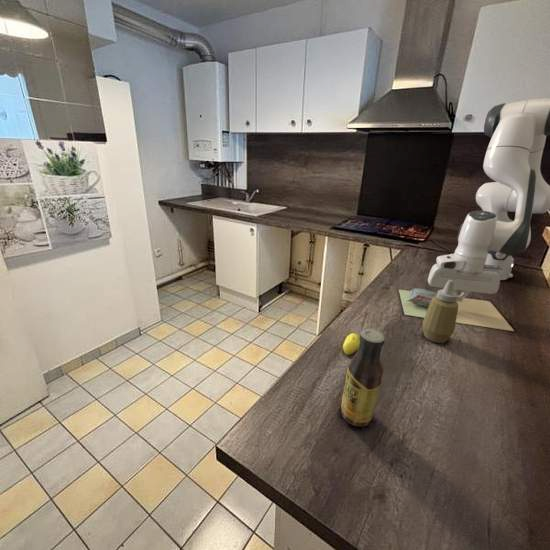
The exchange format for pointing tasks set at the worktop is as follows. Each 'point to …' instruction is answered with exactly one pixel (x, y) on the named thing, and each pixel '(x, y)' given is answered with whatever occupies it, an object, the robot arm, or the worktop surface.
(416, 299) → the packaged food
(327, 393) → the worktop surface
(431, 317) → the squeeze bottle
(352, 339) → the lemon
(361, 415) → the sauce bottle
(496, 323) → the mat
